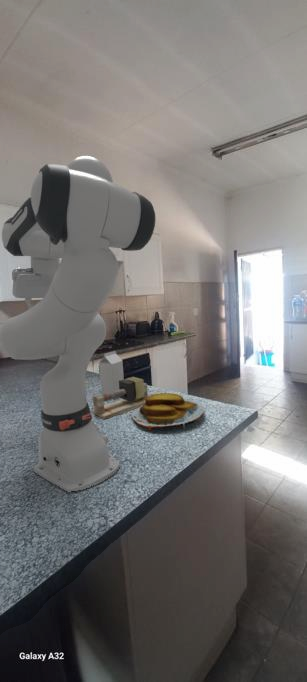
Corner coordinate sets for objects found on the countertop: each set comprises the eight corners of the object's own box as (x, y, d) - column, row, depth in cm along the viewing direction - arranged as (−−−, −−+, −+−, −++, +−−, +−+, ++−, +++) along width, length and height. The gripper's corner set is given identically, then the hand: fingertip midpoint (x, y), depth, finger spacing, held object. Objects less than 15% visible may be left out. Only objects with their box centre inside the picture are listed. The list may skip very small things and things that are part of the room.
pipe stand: (151, 402, 116) (150, 384, 114) (103, 420, 102) (101, 399, 100) (138, 397, 122) (136, 380, 121) (90, 413, 108) (89, 394, 107)
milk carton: (125, 394, 127) (121, 351, 124) (114, 399, 121) (111, 354, 119) (112, 392, 131) (109, 350, 128) (101, 397, 125) (97, 353, 122)
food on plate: (154, 442, 85) (152, 421, 84) (119, 415, 106) (118, 397, 105) (220, 419, 97) (220, 400, 96) (177, 399, 118) (177, 383, 118)
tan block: (144, 396, 115) (143, 379, 113) (136, 399, 112) (135, 381, 111) (134, 393, 119) (133, 376, 118) (126, 395, 117) (125, 378, 116)
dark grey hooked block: (134, 399, 111) (133, 382, 110) (129, 401, 110) (128, 383, 109) (125, 396, 116) (123, 379, 115) (120, 397, 115) (118, 380, 114)
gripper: (15, 267, 86) (17, 314, 89) (78, 271, 100) (78, 311, 103) (8, 266, 90) (10, 311, 93) (69, 270, 104) (69, 309, 107)
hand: (46, 311), depth 98 cm, fingers open, 8 cm apart
